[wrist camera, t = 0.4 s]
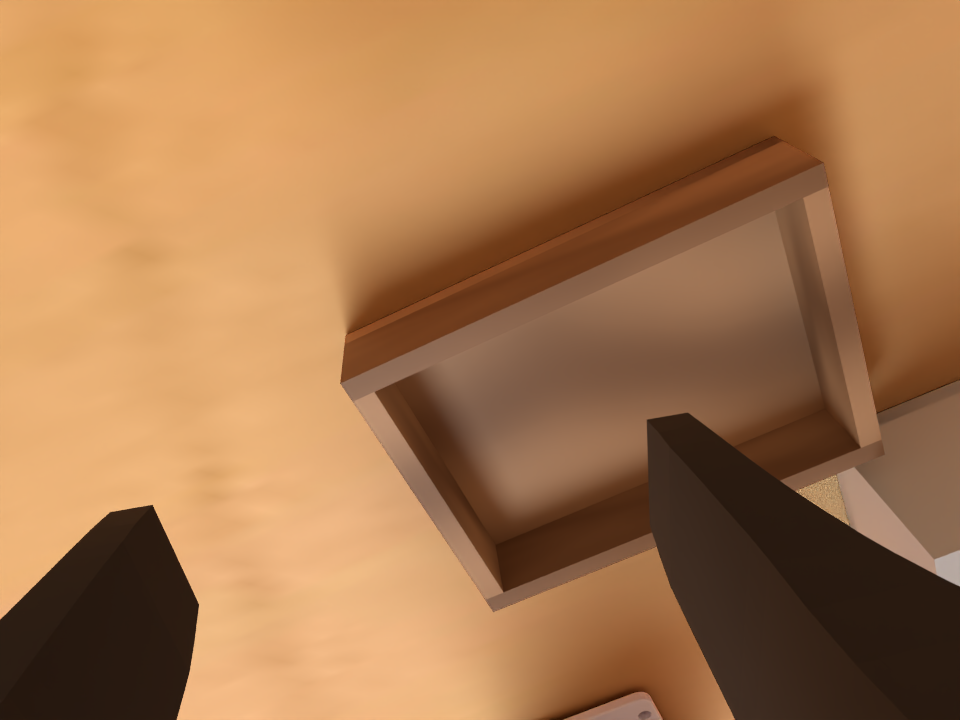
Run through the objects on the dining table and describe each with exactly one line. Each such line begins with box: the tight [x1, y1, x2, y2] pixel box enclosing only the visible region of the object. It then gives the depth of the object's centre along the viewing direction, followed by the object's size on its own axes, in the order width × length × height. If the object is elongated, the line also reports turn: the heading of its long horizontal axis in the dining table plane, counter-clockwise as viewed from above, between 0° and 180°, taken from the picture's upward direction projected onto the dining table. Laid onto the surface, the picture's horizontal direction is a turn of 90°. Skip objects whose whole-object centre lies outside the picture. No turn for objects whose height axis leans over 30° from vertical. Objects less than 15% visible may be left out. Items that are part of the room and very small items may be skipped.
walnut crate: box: [340, 136, 885, 612], centre depth 21 cm, size 9×12×2 cm
